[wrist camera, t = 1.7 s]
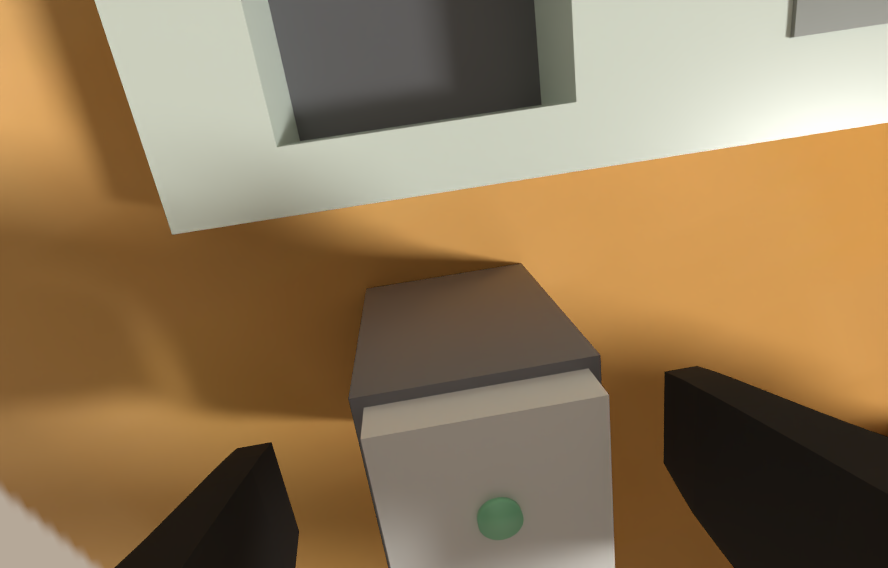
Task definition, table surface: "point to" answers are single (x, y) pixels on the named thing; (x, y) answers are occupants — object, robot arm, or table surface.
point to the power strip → (469, 91)
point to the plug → (482, 425)
